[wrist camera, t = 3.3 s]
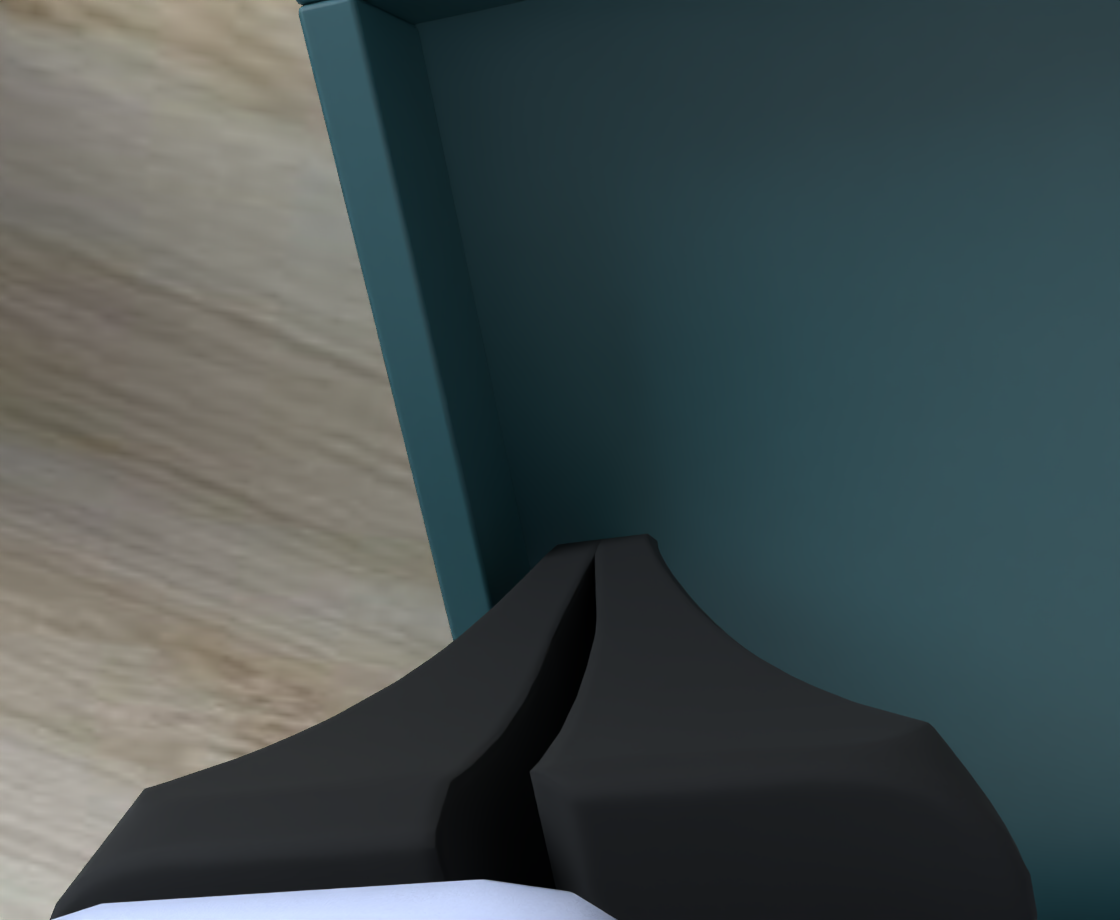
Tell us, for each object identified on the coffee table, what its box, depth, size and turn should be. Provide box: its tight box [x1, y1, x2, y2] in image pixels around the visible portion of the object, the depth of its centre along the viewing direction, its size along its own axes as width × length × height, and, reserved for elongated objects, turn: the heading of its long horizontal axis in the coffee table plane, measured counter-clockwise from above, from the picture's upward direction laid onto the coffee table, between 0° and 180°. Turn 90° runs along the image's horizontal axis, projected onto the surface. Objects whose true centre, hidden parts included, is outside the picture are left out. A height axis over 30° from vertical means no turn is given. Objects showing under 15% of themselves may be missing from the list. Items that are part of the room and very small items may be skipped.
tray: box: [296, 0, 1120, 920], centre depth 11 cm, size 16×13×3 cm
